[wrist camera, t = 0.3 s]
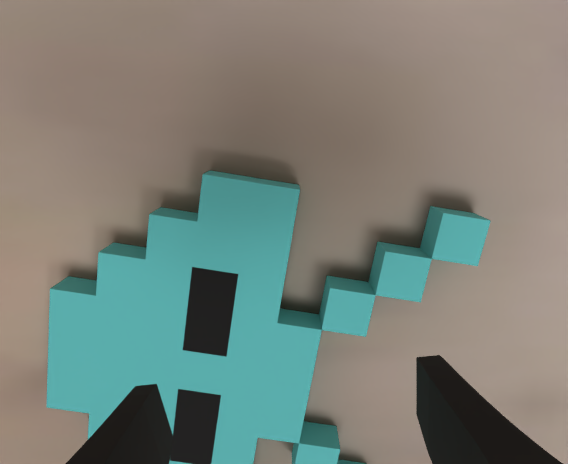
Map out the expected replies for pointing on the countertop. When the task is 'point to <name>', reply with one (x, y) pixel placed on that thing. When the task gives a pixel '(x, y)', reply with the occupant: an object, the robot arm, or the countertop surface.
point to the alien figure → (225, 321)
